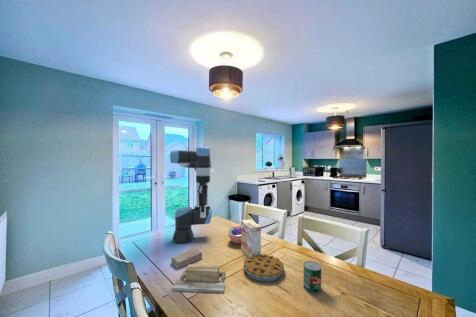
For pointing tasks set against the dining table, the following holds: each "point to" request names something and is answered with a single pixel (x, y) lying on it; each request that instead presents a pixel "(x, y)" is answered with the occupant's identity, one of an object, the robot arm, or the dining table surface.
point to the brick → (186, 258)
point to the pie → (263, 267)
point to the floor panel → (200, 285)
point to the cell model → (235, 234)
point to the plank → (202, 273)
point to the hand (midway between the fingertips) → (203, 217)
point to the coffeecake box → (250, 237)
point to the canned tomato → (312, 277)
